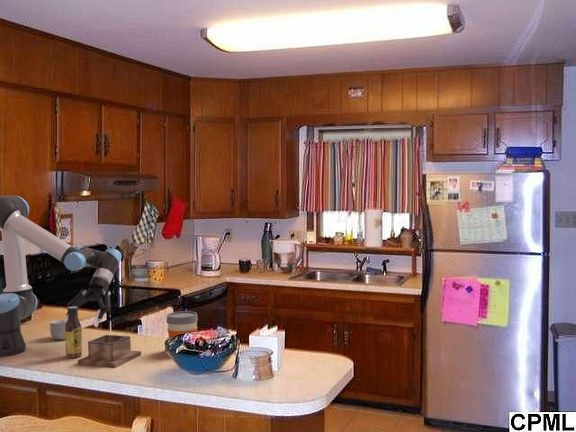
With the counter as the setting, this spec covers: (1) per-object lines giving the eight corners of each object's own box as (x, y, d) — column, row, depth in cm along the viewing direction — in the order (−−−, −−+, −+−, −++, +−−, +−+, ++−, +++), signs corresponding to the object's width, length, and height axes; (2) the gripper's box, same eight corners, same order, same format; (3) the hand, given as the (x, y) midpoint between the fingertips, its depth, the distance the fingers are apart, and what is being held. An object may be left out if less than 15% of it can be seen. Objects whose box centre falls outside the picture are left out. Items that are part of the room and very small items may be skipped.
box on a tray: (78, 364, 237) (77, 343, 237) (105, 352, 253) (104, 332, 253) (115, 367, 232) (114, 346, 231) (141, 355, 248) (140, 335, 247)
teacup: (45, 341, 275) (44, 323, 274) (60, 335, 285) (59, 317, 285) (73, 342, 271) (72, 324, 271) (87, 336, 282) (86, 318, 281)
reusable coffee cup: (195, 345, 261) (193, 309, 260) (202, 352, 249) (200, 315, 248) (165, 348, 256) (163, 312, 255) (170, 356, 244) (169, 319, 244)
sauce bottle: (77, 359, 244) (74, 309, 243) (62, 358, 246) (60, 308, 245) (85, 354, 251) (83, 305, 250) (71, 353, 252) (69, 305, 251)
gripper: (130, 287, 262) (110, 331, 248) (80, 285, 270) (59, 327, 257) (122, 276, 256) (102, 321, 243) (72, 275, 264) (49, 318, 251)
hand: (80, 324), depth 250 cm, fingers open, 13 cm apart
